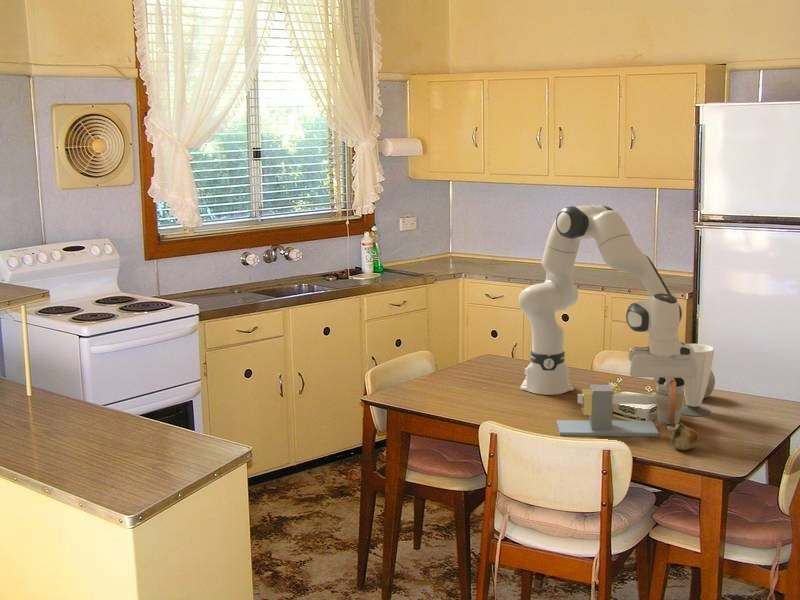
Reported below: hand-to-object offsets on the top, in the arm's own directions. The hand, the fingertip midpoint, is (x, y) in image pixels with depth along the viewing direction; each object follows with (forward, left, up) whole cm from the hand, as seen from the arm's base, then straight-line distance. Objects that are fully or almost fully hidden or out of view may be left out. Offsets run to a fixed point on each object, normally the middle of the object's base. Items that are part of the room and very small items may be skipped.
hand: (661, 390), depth 302 cm
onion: (+17, +4, -13) cm, 22 cm away
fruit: (-35, +20, -13) cm, 42 cm away
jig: (0, -16, -13) cm, 21 cm away
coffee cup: (-10, +5, -13) cm, 17 cm away
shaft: (0, -11, -10) cm, 15 cm away
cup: (-20, +15, -13) cm, 28 cm away
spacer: (0, -23, -7) cm, 24 cm away
